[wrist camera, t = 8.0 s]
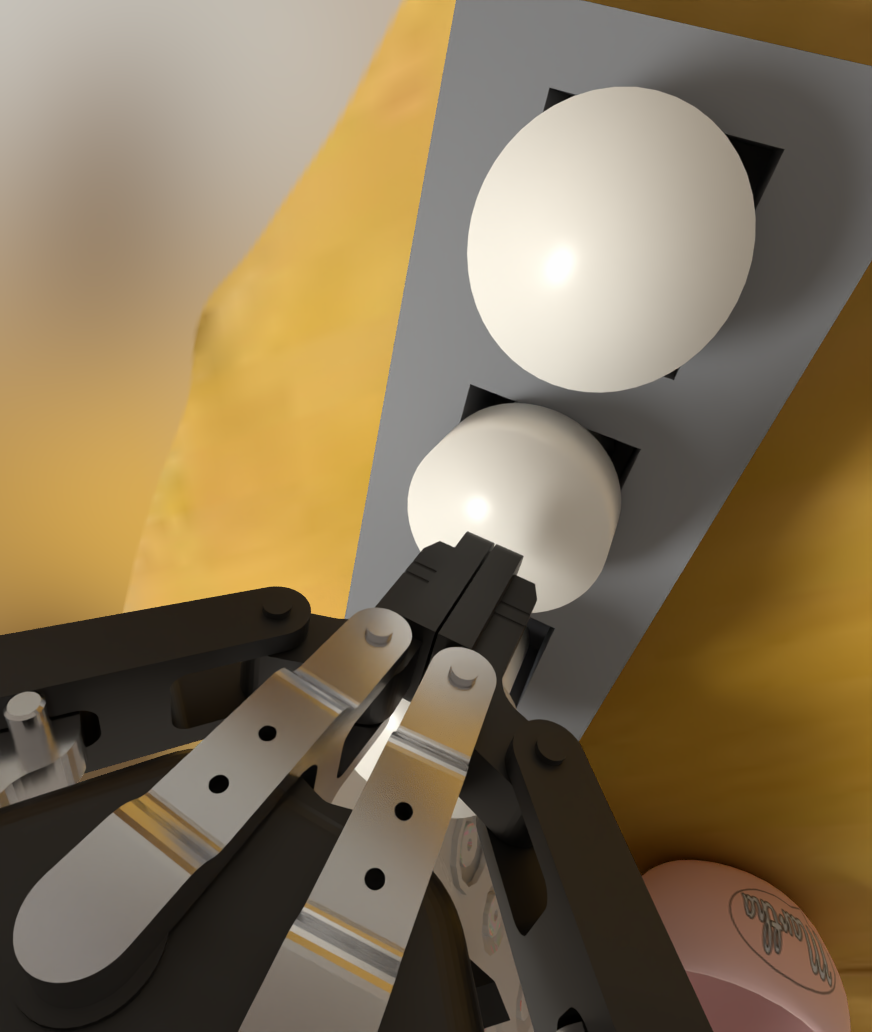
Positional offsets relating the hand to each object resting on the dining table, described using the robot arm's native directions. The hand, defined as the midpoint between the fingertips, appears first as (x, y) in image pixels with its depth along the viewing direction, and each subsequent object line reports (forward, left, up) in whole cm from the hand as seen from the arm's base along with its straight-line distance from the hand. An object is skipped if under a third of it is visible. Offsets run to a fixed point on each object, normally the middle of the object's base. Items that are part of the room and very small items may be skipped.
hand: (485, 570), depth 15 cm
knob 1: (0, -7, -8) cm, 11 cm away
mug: (-15, +21, -9) cm, 27 cm away
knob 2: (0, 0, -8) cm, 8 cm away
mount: (0, 0, -9) cm, 9 cm away
